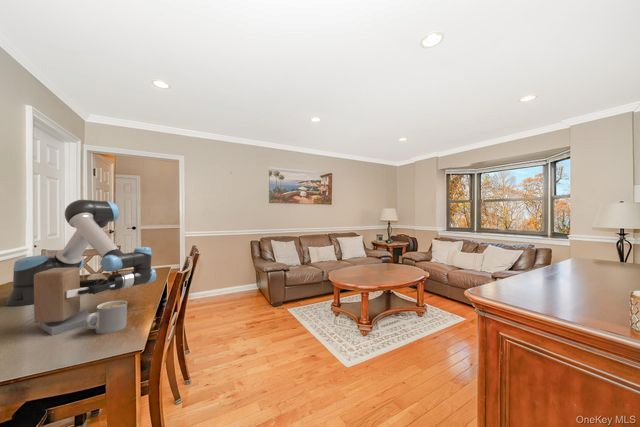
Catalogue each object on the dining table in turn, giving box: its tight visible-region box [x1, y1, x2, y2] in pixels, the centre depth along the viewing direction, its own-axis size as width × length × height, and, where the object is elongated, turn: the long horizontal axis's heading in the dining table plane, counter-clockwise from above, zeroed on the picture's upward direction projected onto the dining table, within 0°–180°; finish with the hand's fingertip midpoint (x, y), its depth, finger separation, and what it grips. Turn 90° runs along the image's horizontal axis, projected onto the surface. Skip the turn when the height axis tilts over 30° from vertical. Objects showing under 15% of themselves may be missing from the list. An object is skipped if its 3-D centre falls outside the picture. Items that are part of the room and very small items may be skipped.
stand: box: [39, 310, 96, 336], centre depth 107 cm, size 14×14×2 cm
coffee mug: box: [85, 300, 128, 335], centre depth 103 cm, size 13×10×10 cm
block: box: [33, 267, 81, 324], centre depth 103 cm, size 10×10×20 cm
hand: (60, 291), depth 104 cm, fingers closed on block, 13 cm apart
